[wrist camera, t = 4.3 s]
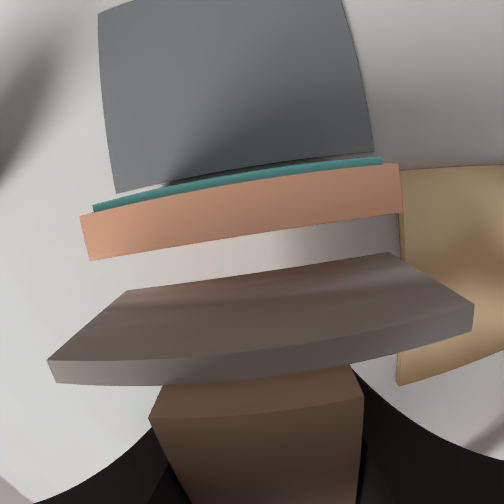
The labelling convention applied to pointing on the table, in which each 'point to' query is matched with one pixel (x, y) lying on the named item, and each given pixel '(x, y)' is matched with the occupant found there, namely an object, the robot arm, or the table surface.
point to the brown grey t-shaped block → (264, 370)
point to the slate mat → (227, 86)
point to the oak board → (456, 257)
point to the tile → (243, 205)
